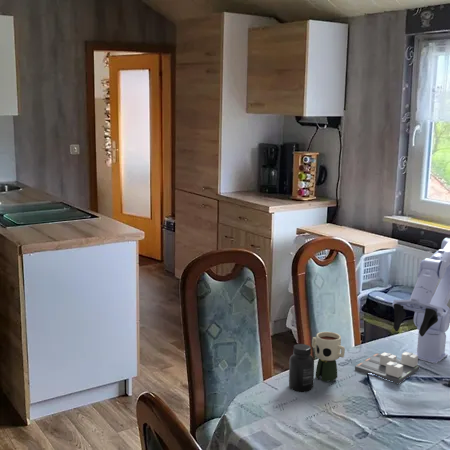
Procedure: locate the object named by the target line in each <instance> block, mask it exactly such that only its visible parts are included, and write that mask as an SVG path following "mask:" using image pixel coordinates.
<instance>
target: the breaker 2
mask: <svg viewBox="0 0 450 450" xmlns="http://www.w3.org/2000/svg"><path fill="white" fill-rule="evenodd" d="M400 360H401V364H404V365H408V366H411V367H415V366H416V365H418V362H419V359H418V355H415V354H414V353H413V352H409V351H404V352H403V353H401V359H400Z"/></svg>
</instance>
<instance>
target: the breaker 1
mask: <svg viewBox="0 0 450 450" xmlns="http://www.w3.org/2000/svg"><path fill="white" fill-rule="evenodd" d="M385 374H388V375H391V376H394V377H397V378H399V377H400V376H402V374H403V365H401V364H398V363H396V362H395V363H394V362H391V361H390V362H388V363H387V364H386V373H385Z"/></svg>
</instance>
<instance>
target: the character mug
mask: <svg viewBox="0 0 450 450" xmlns="http://www.w3.org/2000/svg"><path fill="white" fill-rule="evenodd" d="M311 348H313V349H314V352H315V357H316V358H317V359H318V360H317V363H316V369H315V378H316V379H317V380H320V378H321V381H323V382H333V381H335V380H336V379H338V366H337V365H338V364H337V360H339V359H340V358H345V351H346V350H345V349H346V348H345V346H343V345H342V335H340V334H339V333H337V332H333V331H320V332H318V333H316V336H312V339H311Z"/></svg>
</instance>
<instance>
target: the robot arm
mask: <svg viewBox="0 0 450 450" xmlns="http://www.w3.org/2000/svg"><path fill="white" fill-rule="evenodd" d="M418 269H419V270H418V272H417V280H416V282H415V285H414V287H413V290H412V292H411V295H410V298H409V299H393V301H392V304H391V305H392V308H393V310H394V311H393V313H394V321H393V329H394V331H395V332H398V331H399V330H400V327H401V324H402V322H403V321H404V319H405V318H406V316H407V313H406V310H407V311H412V312H414V315H413V323H414V325H415V327H416V329H417V330H418V334H417V335H418V336H417V348H416V352H414V353H413V354H415V355H418V360H422V361H425V362H428V363H432V364H438V363H439V362H440V361H441V360H443V359H445V357H446V358H447V356H448V353H447V352H446V342H447V341H446V340H447V334H446V332H447V331H448V330H449V327H450V307H449V306H448V303H449V301H450V237H445V238H444V239H443V240H442V241H441V245H440V249H438V250H437V251H435V252H434V253H433V254H432V255H431V256H430V257H429V258H428V257H427V258H424V259H422V260H421V261H420V263H419V268H418ZM439 280H440V281H439ZM417 330H416V331H417Z"/></svg>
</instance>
